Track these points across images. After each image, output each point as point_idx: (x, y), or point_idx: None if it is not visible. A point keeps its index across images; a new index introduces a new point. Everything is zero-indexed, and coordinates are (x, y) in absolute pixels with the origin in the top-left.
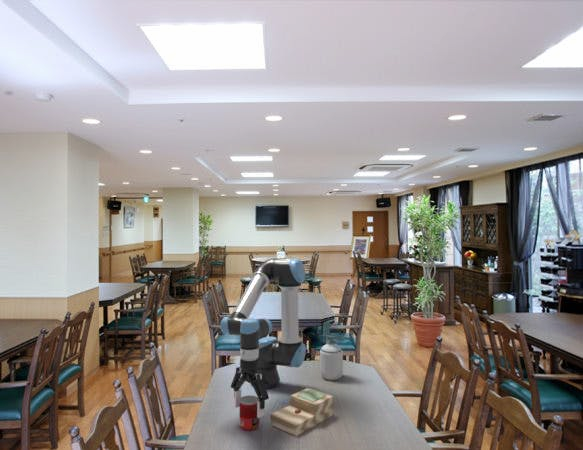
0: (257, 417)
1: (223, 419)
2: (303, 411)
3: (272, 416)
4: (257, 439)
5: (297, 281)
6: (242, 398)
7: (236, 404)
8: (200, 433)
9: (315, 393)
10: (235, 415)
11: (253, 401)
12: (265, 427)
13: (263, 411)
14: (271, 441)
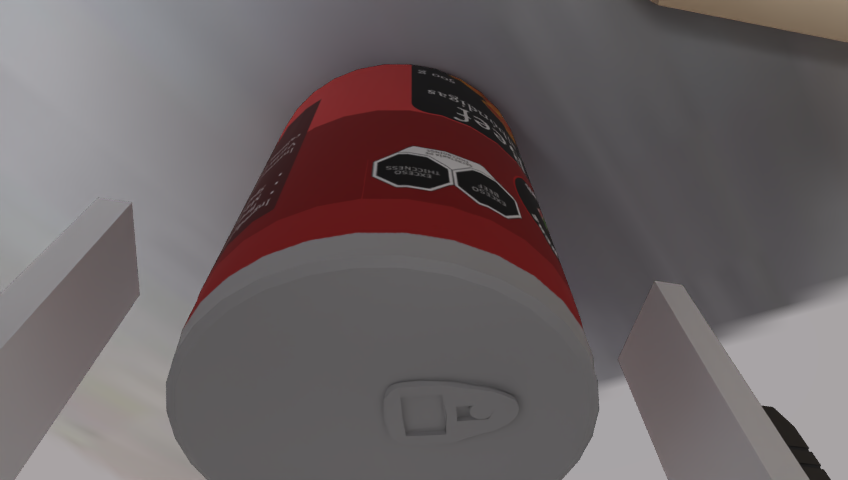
0: (620, 358)
1: (27, 195)
2: None
3: (697, 10)
4: (623, 311)
5: None
6: (224, 442)
7: (116, 319)
8: (135, 450)
9: None
10: (25, 32)
11: (506, 424)
12: (586, 86)
13: (707, 331)
14: (769, 276)
